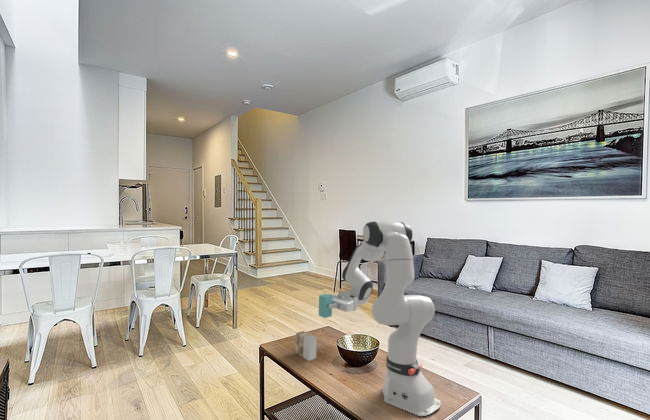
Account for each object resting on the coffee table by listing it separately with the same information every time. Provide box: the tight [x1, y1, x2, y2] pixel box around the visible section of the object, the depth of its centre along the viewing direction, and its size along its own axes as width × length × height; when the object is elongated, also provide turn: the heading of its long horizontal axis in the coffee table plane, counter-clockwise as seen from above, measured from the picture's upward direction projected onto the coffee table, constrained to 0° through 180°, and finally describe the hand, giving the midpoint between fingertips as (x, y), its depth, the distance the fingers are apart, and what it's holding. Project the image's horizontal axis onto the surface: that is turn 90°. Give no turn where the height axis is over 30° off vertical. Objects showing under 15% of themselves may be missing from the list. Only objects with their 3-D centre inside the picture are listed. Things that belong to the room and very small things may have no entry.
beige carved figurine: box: [295, 331, 310, 357], centre depth 166 cm, size 4×4×10 cm
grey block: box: [302, 334, 318, 362], centre depth 161 cm, size 4×4×10 cm
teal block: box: [318, 293, 333, 319], centre depth 163 cm, size 4×4×10 cm
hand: (324, 304), depth 162 cm, fingers closed on teal block, 4 cm apart
